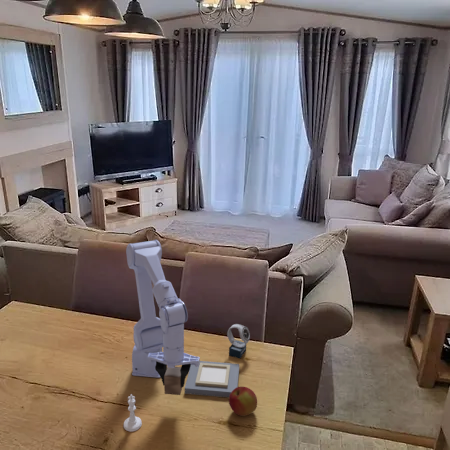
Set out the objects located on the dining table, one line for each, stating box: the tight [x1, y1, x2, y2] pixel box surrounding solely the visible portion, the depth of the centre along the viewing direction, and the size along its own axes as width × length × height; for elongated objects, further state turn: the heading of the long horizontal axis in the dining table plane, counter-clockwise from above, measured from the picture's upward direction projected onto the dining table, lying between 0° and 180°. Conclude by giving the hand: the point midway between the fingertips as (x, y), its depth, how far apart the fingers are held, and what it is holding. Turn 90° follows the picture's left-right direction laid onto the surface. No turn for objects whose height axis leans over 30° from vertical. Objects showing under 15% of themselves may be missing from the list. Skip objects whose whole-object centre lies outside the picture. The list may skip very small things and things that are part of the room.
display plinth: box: [184, 360, 240, 398], centre depth 133 cm, size 16×14×3 cm
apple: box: [228, 386, 258, 417], centre depth 119 cm, size 8×8×8 cm
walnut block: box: [163, 366, 183, 396], centre depth 119 cm, size 4×4×6 cm
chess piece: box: [123, 393, 143, 432], centre depth 113 cm, size 5×5×10 cm
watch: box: [226, 323, 251, 360], centre depth 146 cm, size 6×8×11 cm
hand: (173, 384), depth 119 cm, fingers closed on walnut block, 4 cm apart
